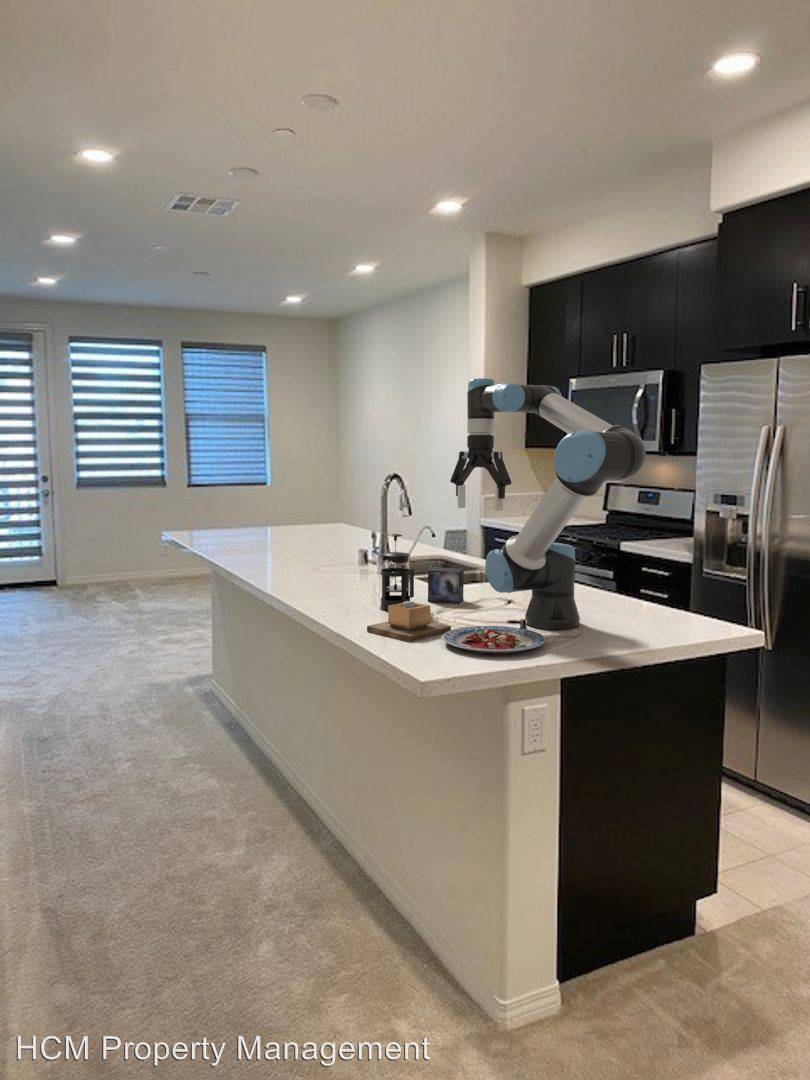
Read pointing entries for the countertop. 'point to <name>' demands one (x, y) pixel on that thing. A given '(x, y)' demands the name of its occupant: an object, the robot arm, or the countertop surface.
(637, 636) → the countertop surface
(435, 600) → the small box
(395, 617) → the open wooden box
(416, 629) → the post stand
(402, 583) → the french press
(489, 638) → the ceramic plate
